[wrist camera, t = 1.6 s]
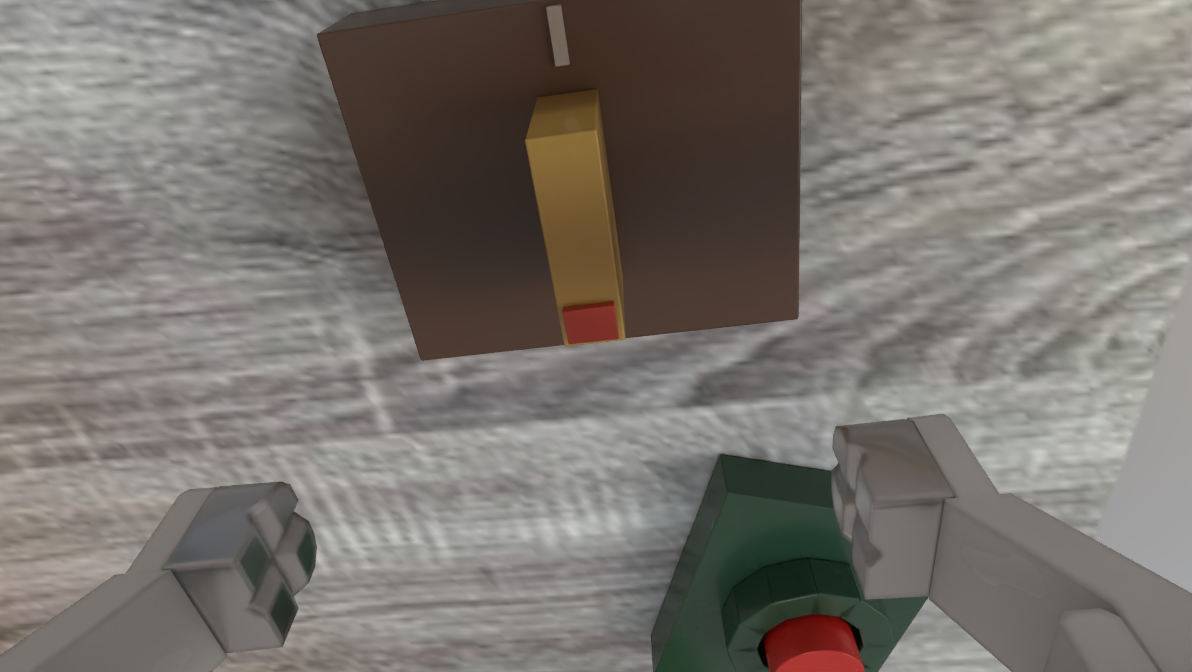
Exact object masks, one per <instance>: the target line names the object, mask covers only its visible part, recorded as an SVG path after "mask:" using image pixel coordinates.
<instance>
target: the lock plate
mask: <svg viewBox="0 0 1192 672" xmlns="http://www.w3.org/2000/svg"><path fill="white" fill-rule="evenodd" d="M317 38H318V41H319V44H320V47H321V50H322V53H323V57H324V60H325V63H326V66H327V69H328V72H329V75H330V78H331V82H332V85H333V88H334V91H335V94H336V97H337V100H338V103H339V106H340V110H341V113H342V116H343V119H344V122H345V125H346V128H347V131H348V134H349V138H350V141H351V144H352V147H353V150H354V153H355V156H356V159H357V162H358V166H359V169H360V172H361V175H362V178H363V181H364V184H365V187H366V190H367V194H368V197H369V200H370V203H371V206H372V209H373V212H374V215H375V218H376V222H377V225H378V228H379V231H380V234H381V237H382V240H383V243H384V246H385V250H386V253H387V256H388V259H389V262H390V265H391V268H392V271H393V274H394V278H395V281H396V284H397V287H398V290H399V293H400V296H401V299H402V303H403V306H404V309H405V312H406V315H407V318H408V321H409V324H410V327H411V331H412V334H413V337H414V340H415V343H416V346H417V349H418V352H419V355H420V359H421V360H432V359H441V358H450V357H459V356H468V355H477V354H486V353H495V352H504V351H513V350H522V349H531V348H540V347H550V346H559V345H564V341H563V336H562V331H561V326H560V320H559V315H558V310H557V305H556V300H555V294H554V289H553V284H552V279H551V274H550V268H549V263H548V258H547V253H546V248H545V242H544V237H543V232H542V227H541V222H540V216H539V211H538V206H537V201H536V196H535V190H534V185H533V180H532V175H531V169H530V164H529V159H528V154H527V149H526V143H525V139H526V136H527V132H528V129H529V125H530V122H531V118H532V115H533V111H534V107H535V104H536V100H537V98H538V97H544V96H551V95H559V94H566V93H573V92H580V91H588V90H595V89H596V90H598V95H599V102H600V110H601V117H602V125H603V132H604V140H605V147H606V155H607V162H608V170H609V177H610V185H611V192H612V200H613V207H614V215H615V222H616V230H617V237H618V245H619V252H620V260H621V267H622V275H623V295H624V316H625V338H631V337H640V336H649V335H658V334H667V333H676V332H685V331H694V330H703V329H712V328H721V327H730V326H739V325H749V324H758V323H767V322H776V321H785V320H794V319H798V316H799V229H800V142H801V55H802V0H436V1H430V2H423V3H417V4H410V5H403V6H397V7H390V8H383V9H377V10H370V11H364V12H357V13H351V14H350V15H348V16H346V17H345V18H343V19H341V20H340V21H338V22H336V23H335V24H333V25H331V26H330V27H328V28H326V29H325V30H323V31H321V32H320V33H318V34H317Z"/></svg>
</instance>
